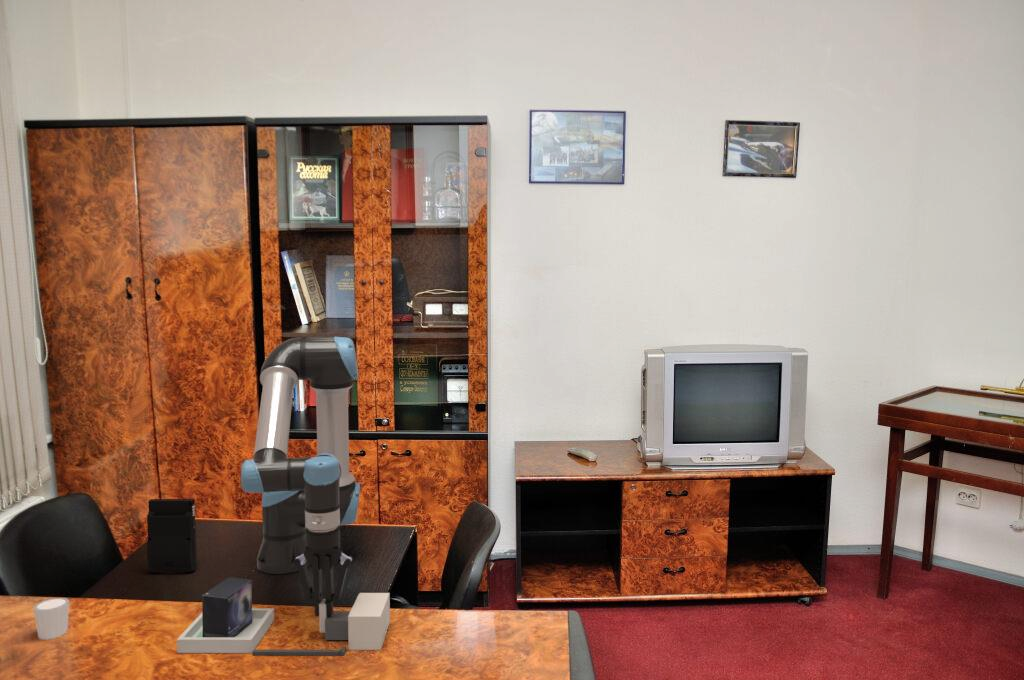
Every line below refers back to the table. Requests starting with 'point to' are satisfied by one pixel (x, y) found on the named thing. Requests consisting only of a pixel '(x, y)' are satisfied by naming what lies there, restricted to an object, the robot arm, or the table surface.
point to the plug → (337, 626)
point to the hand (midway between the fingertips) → (324, 629)
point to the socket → (369, 621)
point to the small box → (227, 608)
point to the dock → (239, 644)
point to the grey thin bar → (300, 652)
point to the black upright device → (171, 536)
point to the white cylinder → (51, 618)
